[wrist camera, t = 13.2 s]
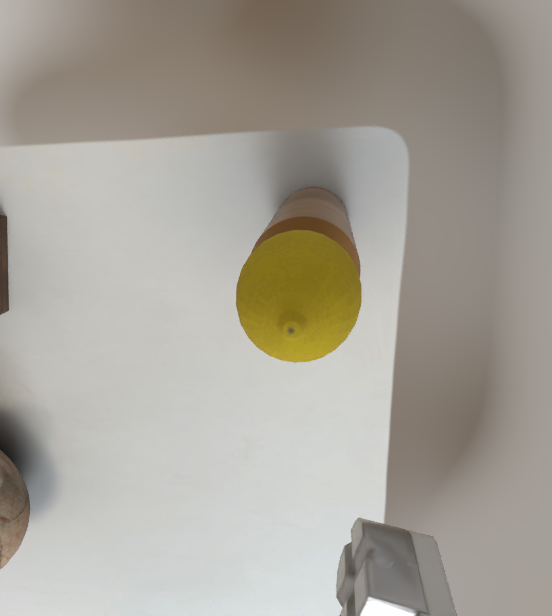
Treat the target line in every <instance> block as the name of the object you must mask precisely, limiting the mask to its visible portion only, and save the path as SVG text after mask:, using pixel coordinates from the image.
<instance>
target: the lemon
mask: <svg viewBox="0 0 552 616" xmlns="http://www.w3.org/2000/svg"><path fill="white" fill-rule="evenodd" d="M236 306H237V311H238V315H239V319H240V323H241V325H242V327H243V329H244V331H245V332H246V334H247V336H248V337H249V339H250V340H251V341H252V342H253V343H254V344H255V345H256V346H257V347H258V348H259V349H260V350H262V351H263V352H265V353H266V354H268V355H269V356H272V357H274V358H277V359H279V360H283V361H289V362H309V361H312V360H315V359H319V358H322V357H324V356H325V355H327V354H329V353H330V352H332V351H334V350H335V349H336V348H337V347H338V346H339V345H340V344H341V343H342V342H343V341H344V340H345V339H346V338H347V337H348V335H349V333H350V332H351V330H352V328H353V327H354V325H355V323H356V321H357V317H358V314H359V310H360V307H361V282H360V278H359V275H358V271H357V268H356V266H355V264H354V263H353V261H352V259H351V257H350V256H349V254H348V253H347V252H346V251H345V250H344V249H343V248H342V247H341V246H340V245H339V244H338V243H337V242H336V241H334V240H332V239H330V238H329V237H327V236H325V235H323V234H321V233H317V232H313V231H310V230H292V231H288V232H283V233H279V234H277V235H275V236H273V237H271V238H269V239H267V240H265V241H264V242H263V243H262V244H261V245H259V246H258V247H257V248H256V249H255V250H254V251H253V252H252V253H251V255H250V256H249V258H248V259H247V261H246V263H245V264H244V266H243V268H242V270H241V273H240V276H239V280H238V283H237V291H236Z"/></svg>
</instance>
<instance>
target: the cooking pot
mask: <svg viewBox="0 0 552 616" xmlns="http://www.w3.org/2000/svg"><path fill="white" fill-rule="evenodd" d="M29 515H30V502H29V494H28V491H27V488H26V485H25V482H24V480H23V478H22V476H21V474H20V472H19V470H18V469H17V467H16V466H15V465H14V463H13V462H12V461H11V460H10V459H9V458H8V457H7V456H6V455H5V453H4V452H2V451H1V450H0V569H1V568H3V567H4V566H5V565H6V564H7V563H8V561H9V560H10V559H11V558H12V556H13V555H14V554H15V552H16V551H17V550H18V548H19V547H20V545H21V543H22V540H23V538H24V535H25V533H26V530H27V527H28V522H29Z"/></svg>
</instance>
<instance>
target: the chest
mask: <svg viewBox="0 0 552 616" xmlns="http://www.w3.org/2000/svg"><path fill="white" fill-rule="evenodd" d="M8 310H9V309H8V261H7V217H5V216H1V215H0V315H1V314H2V313H5V312H7V311H8Z"/></svg>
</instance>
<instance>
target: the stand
mask: <svg viewBox="0 0 552 616" xmlns="http://www.w3.org/2000/svg"><path fill="white" fill-rule="evenodd" d="M292 230H310V231H313V232H317V233H321V234H323V235H325V236H327V237H329V238H330V239H332V240H334V241H336V242H337V243H338V244H339V245H340V246H341V247H342V248H343V249H344V250H345V251H346V252H347V253H348V254H349V256H350V257H351V259H352V261H353V263H354V264H355V266H356V268H357V271H358V275H359V278H360V261H359V256H358V253H357V249H356V245H355V241H354V237H353V234H352V230H351V226H350V222H349V218H348V214H347V211H346V209H345V207H344V205H343V203H342V202H341V200H340V199H339V198H338V197H337V196H336V195H334V194H333V193H331V192H329V191H327V190H325V189H322V188H313V187H312V188H305V189H301V190H299V191H297V192H295V193H293V194H292V195H291V196H289V197H288V198H287V199H286V201H285V202H284V203H283V204H282V206H281V207H280V209H279V210H278V212H277V213H276V215H275V216H274V217H273V219H272V220H271V222H270V223H269V225H268V226H267V228H266V229H265V230H264V232H263V233H262V235H261V236H260V238H259V239H258V241H257V242H256V244H255V246H254V248H253V250H252V252H253V251H254V250H255V249H256V248H257V247H258V246H259V245H261V244H262V243H263V242H264V241H265V240H267V239H269V238H271V237H273V236H275V235H277V234H279V233H283V232H288V231H292Z"/></svg>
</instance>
